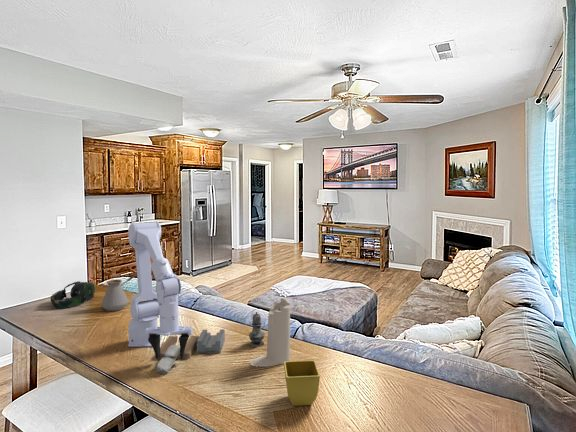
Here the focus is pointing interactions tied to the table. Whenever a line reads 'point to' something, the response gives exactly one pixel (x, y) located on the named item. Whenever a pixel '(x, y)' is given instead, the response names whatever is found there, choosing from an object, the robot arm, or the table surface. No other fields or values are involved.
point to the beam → (171, 341)
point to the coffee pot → (115, 295)
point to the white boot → (277, 336)
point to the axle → (168, 359)
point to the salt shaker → (256, 332)
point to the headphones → (73, 295)
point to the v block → (210, 342)
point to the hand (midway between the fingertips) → (170, 356)
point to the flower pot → (302, 381)
